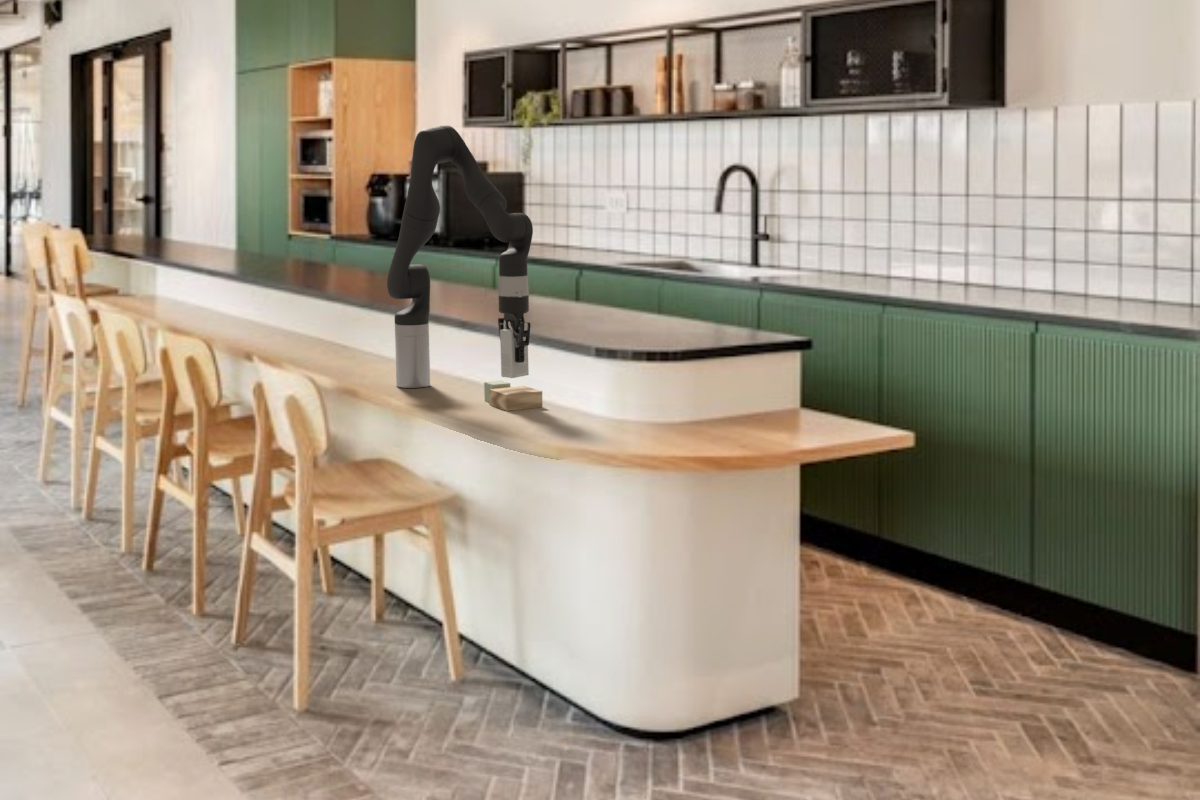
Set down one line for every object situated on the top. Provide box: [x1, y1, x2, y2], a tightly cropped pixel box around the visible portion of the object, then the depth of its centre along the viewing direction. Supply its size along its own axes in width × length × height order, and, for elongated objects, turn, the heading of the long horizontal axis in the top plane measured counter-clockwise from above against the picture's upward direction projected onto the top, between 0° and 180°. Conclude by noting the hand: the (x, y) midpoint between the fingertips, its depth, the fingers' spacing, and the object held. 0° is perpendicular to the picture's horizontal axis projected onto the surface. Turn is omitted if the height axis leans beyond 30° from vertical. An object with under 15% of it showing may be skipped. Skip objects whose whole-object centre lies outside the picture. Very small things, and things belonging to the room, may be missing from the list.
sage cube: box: [483, 380, 511, 403], centre depth 376 cm, size 5×5×5 cm
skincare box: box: [499, 329, 529, 379], centre depth 368 cm, size 6×4×12 cm
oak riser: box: [488, 385, 543, 412], centre depth 370 cm, size 10×10×4 cm
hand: (514, 360), depth 368 cm, fingers closed on skincare box, 5 cm apart
